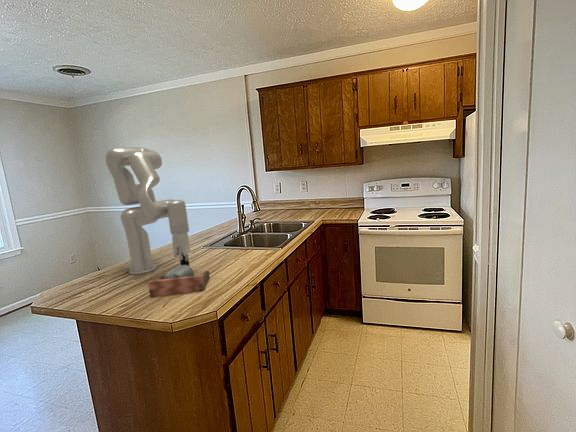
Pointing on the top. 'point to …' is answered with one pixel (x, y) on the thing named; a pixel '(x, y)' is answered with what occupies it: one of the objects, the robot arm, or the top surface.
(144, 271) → the robot arm
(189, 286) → the guide channel
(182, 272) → the grey rounded piece
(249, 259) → the top surface
